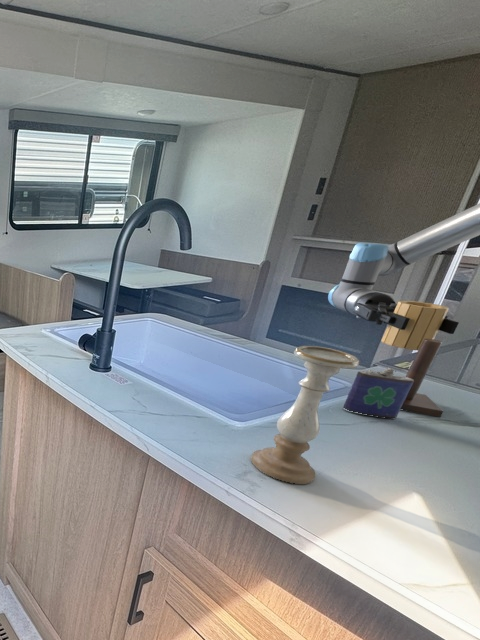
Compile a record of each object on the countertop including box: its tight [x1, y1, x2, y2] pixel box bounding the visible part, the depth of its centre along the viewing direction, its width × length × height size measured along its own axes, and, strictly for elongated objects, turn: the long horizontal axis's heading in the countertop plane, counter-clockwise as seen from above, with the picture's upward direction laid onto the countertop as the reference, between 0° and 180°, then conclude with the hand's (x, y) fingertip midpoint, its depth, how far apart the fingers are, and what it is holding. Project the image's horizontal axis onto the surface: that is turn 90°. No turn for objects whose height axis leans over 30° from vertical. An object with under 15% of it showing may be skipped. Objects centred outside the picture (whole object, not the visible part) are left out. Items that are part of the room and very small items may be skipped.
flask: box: [342, 366, 414, 419], centre depth 89 cm, size 9×3×11 cm, turn 68°
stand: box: [400, 338, 444, 418], centre depth 94 cm, size 10×10×15 cm
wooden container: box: [380, 300, 450, 351], centre depth 102 cm, size 8×8×10 cm
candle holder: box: [250, 345, 360, 485], centre depth 66 cm, size 9×9×20 cm
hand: (429, 326), depth 98 cm, fingers closed on wooden container, 9 cm apart
